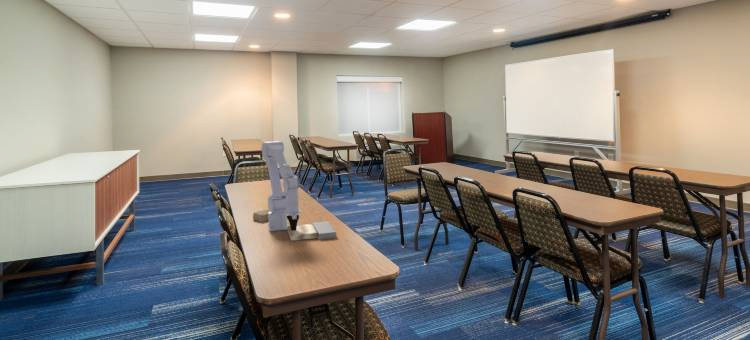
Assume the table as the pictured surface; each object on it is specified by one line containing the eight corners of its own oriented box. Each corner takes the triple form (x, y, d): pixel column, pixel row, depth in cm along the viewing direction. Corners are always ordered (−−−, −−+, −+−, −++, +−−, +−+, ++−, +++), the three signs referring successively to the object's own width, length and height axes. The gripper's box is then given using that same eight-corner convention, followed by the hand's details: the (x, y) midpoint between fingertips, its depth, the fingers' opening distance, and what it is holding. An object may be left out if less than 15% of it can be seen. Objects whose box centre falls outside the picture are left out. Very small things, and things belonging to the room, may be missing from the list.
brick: (261, 222, 229) (261, 214, 228) (252, 220, 234) (251, 211, 233) (286, 216, 241) (285, 208, 241) (276, 214, 247) (276, 206, 246)
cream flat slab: (291, 240, 195) (291, 235, 195) (287, 231, 210) (287, 226, 210) (317, 237, 199) (317, 232, 198) (312, 228, 214) (312, 223, 213)
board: (319, 239, 197) (318, 233, 196) (312, 228, 216) (312, 222, 215) (336, 237, 199) (335, 231, 199) (328, 226, 218) (327, 221, 218)
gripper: (302, 204, 195) (304, 233, 197) (298, 198, 209) (300, 225, 211) (287, 206, 193) (288, 235, 195) (284, 199, 207) (285, 227, 209)
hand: (293, 230), depth 203 cm, fingers closed, pressing on cream flat slab
